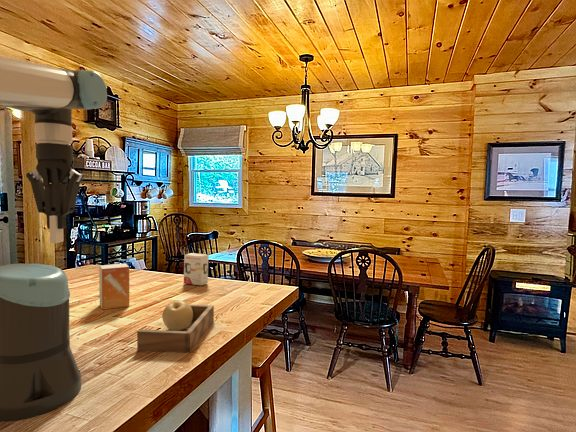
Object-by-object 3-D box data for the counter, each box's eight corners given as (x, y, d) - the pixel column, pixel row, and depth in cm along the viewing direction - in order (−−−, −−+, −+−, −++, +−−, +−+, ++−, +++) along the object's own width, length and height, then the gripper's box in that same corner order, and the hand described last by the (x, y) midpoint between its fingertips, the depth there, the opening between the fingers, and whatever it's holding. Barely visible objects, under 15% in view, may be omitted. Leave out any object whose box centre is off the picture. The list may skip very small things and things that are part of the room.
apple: (159, 327, 101) (159, 299, 100) (188, 322, 105) (188, 295, 105) (166, 337, 94) (166, 307, 94) (197, 331, 98) (197, 303, 98)
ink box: (183, 283, 148) (182, 254, 147) (190, 281, 153) (190, 252, 152) (201, 286, 145) (201, 256, 144) (208, 283, 150) (208, 254, 149)
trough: (190, 352, 86) (189, 333, 85) (137, 350, 86) (137, 331, 86) (213, 320, 107) (213, 305, 106) (171, 319, 107) (171, 303, 107)
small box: (102, 310, 114) (101, 268, 113) (99, 305, 119) (98, 265, 119) (130, 306, 119) (129, 266, 118) (126, 301, 124) (125, 262, 123)
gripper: (90, 146, 91) (92, 240, 93) (39, 145, 92) (42, 239, 94) (70, 142, 84) (73, 245, 85) (15, 141, 85) (19, 243, 86)
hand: (56, 242), depth 90 cm, fingers closed
